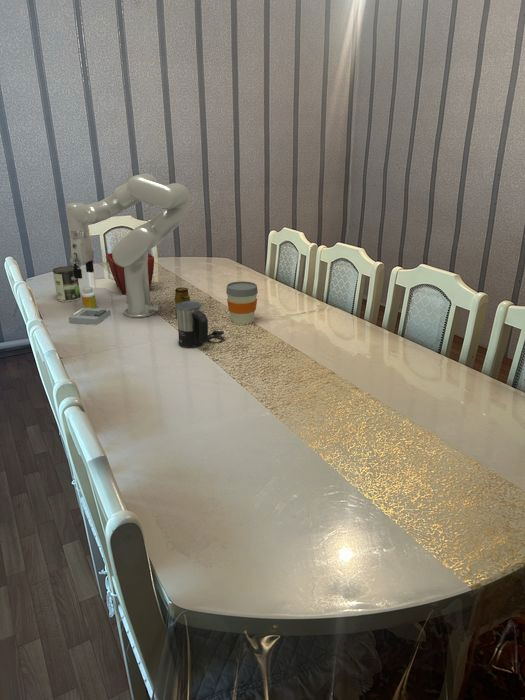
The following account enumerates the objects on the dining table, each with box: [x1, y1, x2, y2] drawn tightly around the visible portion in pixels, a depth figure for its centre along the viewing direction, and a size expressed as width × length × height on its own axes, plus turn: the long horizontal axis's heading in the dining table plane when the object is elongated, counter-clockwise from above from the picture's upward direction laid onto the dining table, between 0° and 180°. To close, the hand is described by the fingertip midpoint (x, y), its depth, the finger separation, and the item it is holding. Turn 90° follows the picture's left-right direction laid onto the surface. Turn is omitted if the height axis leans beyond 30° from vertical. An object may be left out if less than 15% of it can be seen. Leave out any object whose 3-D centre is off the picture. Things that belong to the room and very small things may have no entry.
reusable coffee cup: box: [225, 280, 259, 325], centre depth 208 cm, size 13×12×15 cm
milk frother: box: [174, 300, 225, 349], centre depth 189 cm, size 14×16×15 cm
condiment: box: [171, 287, 191, 319], centre depth 213 cm, size 7×8×12 cm
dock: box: [68, 307, 111, 325], centre depth 213 cm, size 12×12×3 cm
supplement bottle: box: [81, 286, 98, 309], centre depth 223 cm, size 5×5×10 cm
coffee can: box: [52, 265, 82, 303], centre depth 236 cm, size 10×10×14 cm
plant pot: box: [106, 252, 155, 295], centre depth 248 cm, size 19×19×17 cm
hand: (84, 275), depth 219 cm, fingers open, 9 cm apart
